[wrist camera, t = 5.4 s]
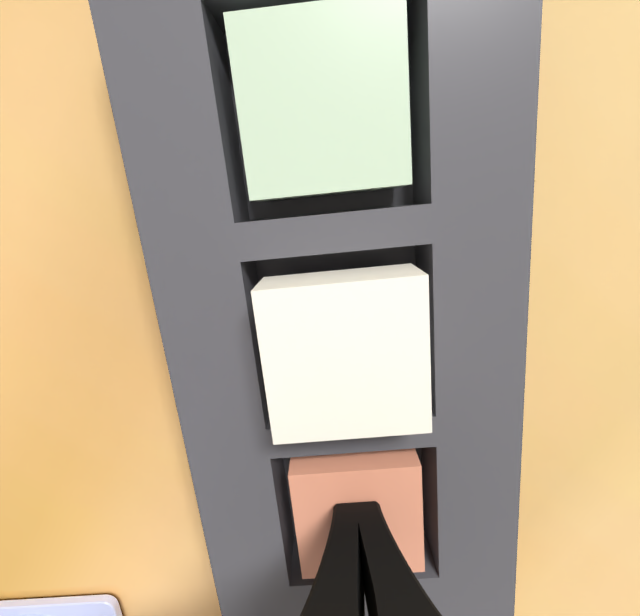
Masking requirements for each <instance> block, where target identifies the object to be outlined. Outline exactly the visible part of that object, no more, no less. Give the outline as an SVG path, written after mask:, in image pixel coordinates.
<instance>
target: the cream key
mask: <svg viewBox="0 0 640 616" xmlns="http://www.w3.org/2000/svg"><path fill="white" fill-rule="evenodd" d="M251 297H252V304H253V311H254V317H255V324H256V331H257V338H258V345H259V351H260V358H261V365H262V372H263V378H264V385H265V392H266V399H267V405H268V412H269V419H270V426H271V433H272V439H273V445H278V444H291V443H304V442H318V441H331V440H344V439H358V438H371V437H385V436H398V435H411V434H425V433H432V400H431V357H430V314H429V275H428V274H427V273H425V272H423V271H422V270H420V269H419V268H417V267H416V266H414V265H413V264H411V263H408V264H398V265H387V266H376V267H366V268H355V269H344V270H334V271H323V272H312V273H302V274H291V275H280V276H270V277H263V278H262V279H261V280H260V281H259V283H258V284H257V285H256V286H255V287H254V288H253V289H252V290H251Z"/></svg>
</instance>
